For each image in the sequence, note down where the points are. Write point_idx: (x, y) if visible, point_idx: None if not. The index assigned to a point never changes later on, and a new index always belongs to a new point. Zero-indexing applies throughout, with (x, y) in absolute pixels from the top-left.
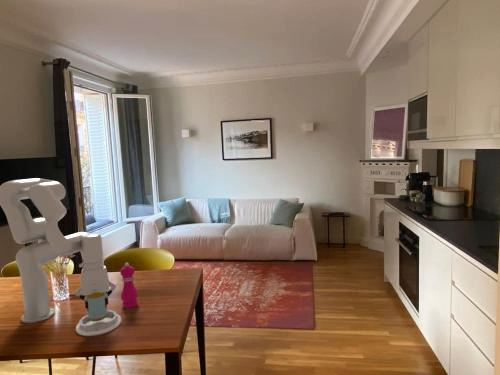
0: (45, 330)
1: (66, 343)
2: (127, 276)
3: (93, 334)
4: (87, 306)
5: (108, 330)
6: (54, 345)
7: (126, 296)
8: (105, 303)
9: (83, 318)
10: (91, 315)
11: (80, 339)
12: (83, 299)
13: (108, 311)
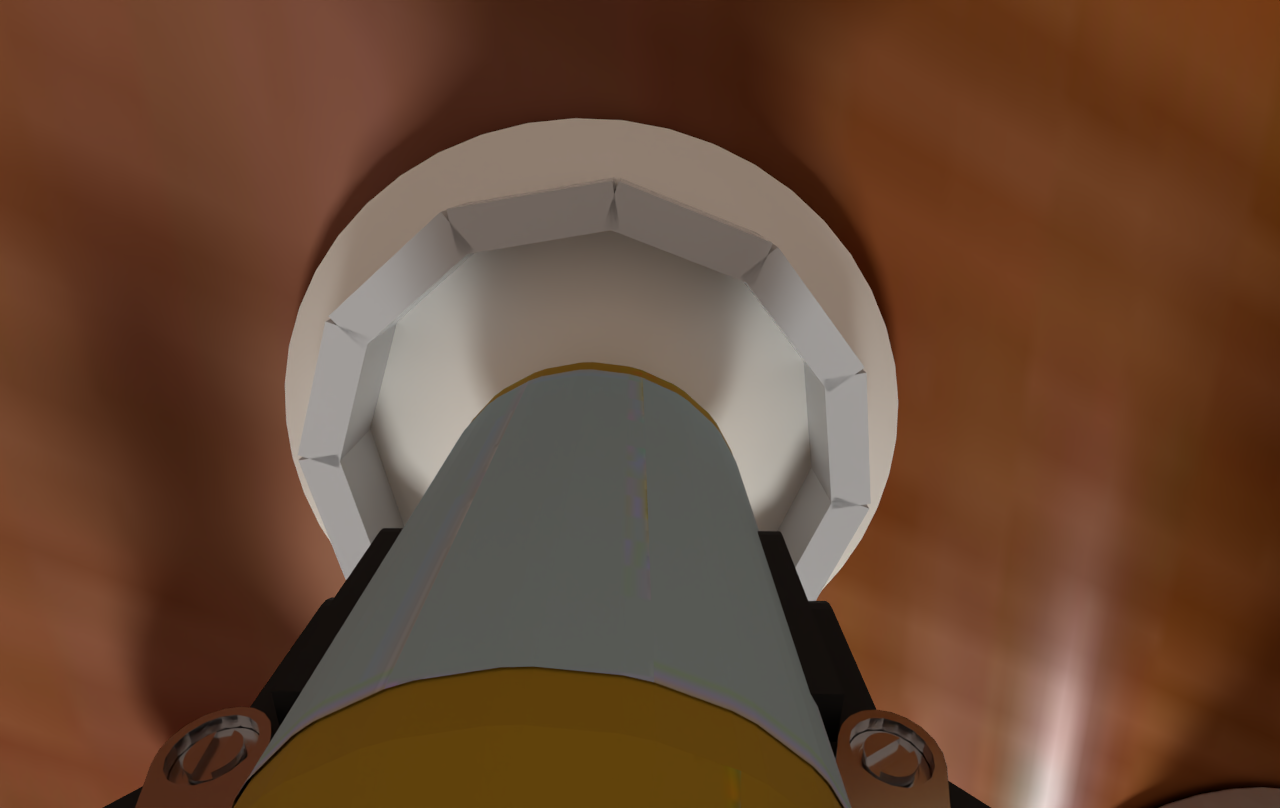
0: (1204, 574)
1: (1040, 59)
2: None
3: (662, 130)
4: (793, 594)
5: (442, 155)
6: (1197, 81)
7: None
8: (360, 586)
9: (806, 562)
10: (695, 427)
11: (845, 96)
12: (952, 802)
13: None
